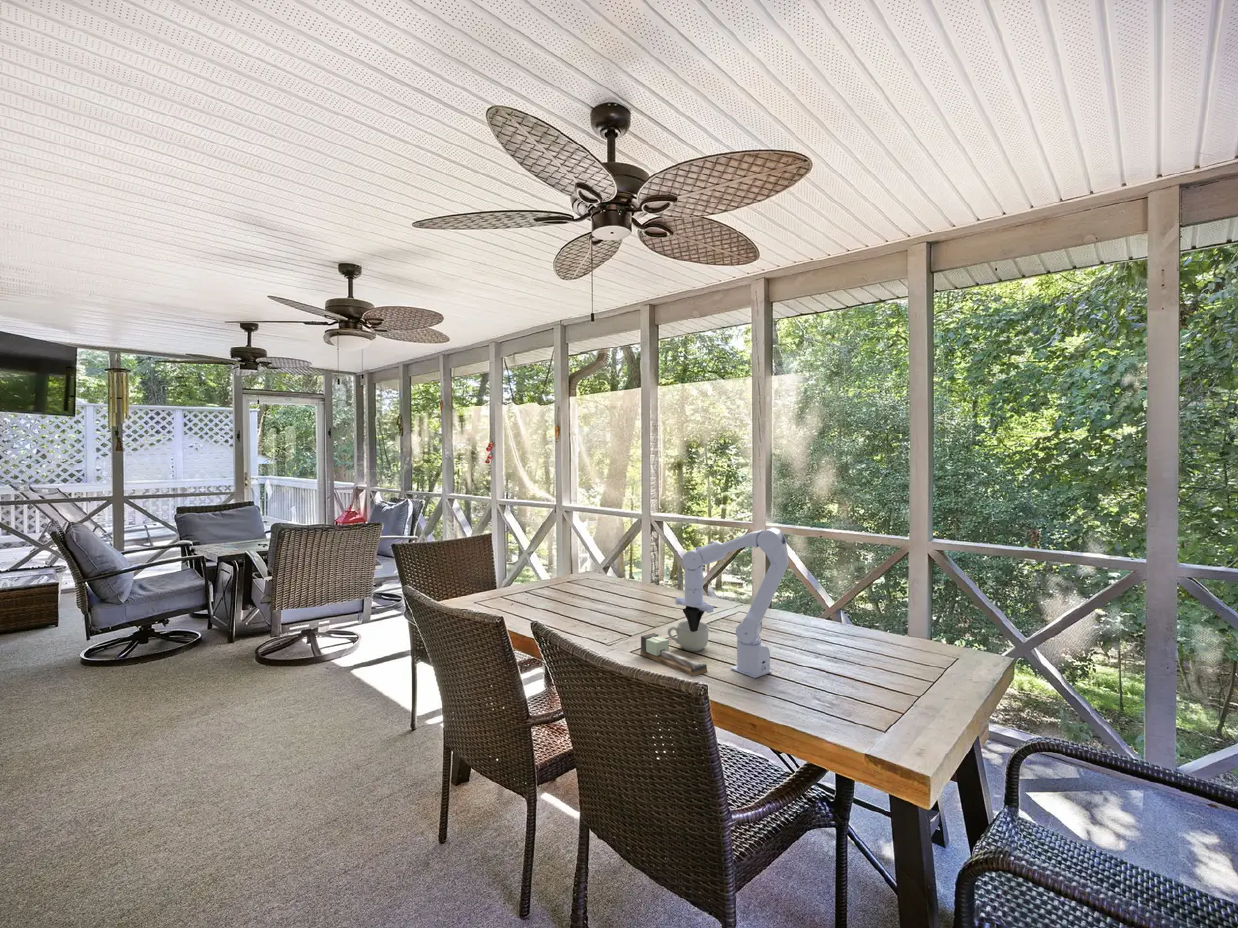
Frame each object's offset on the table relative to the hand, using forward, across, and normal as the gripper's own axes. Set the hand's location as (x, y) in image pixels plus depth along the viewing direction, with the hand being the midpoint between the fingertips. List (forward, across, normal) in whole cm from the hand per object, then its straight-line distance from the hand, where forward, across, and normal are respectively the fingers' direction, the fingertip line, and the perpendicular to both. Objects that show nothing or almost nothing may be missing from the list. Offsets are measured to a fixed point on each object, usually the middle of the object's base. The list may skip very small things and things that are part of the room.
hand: (693, 630), depth 183 cm
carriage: (+8, +11, +6) cm, 15 cm away
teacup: (+10, +10, -8) cm, 17 cm away
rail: (+10, +4, +6) cm, 12 cm away
